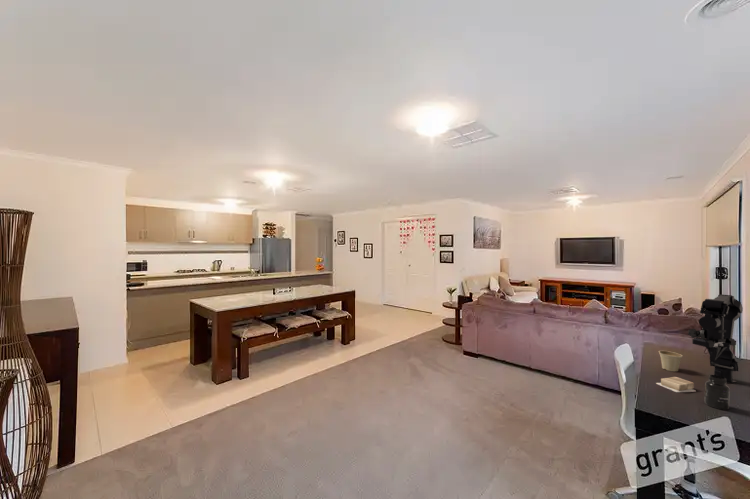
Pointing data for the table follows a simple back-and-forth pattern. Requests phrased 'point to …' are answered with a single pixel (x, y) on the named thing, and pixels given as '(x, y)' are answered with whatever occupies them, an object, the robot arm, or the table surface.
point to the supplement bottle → (717, 392)
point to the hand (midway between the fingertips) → (713, 360)
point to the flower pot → (670, 360)
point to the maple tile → (677, 383)
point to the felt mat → (677, 390)
